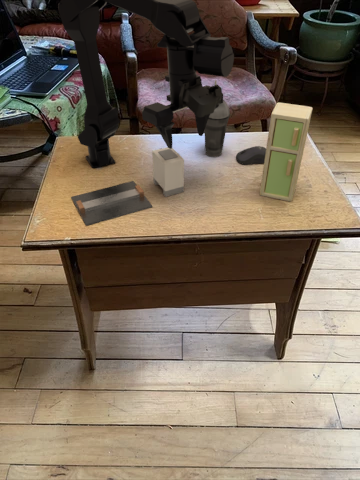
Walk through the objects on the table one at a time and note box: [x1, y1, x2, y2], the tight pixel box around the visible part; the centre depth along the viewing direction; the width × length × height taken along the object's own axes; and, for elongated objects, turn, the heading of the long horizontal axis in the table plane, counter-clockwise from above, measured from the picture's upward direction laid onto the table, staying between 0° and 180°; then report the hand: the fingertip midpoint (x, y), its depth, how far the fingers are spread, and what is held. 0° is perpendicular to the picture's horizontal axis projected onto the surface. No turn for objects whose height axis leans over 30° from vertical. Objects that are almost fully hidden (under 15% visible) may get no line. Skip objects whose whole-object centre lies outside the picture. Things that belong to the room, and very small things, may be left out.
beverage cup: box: [204, 79, 231, 158], centre depth 109 cm, size 7×7×20 cm
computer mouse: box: [235, 145, 266, 166], centre depth 112 cm, size 6×9×4 cm, turn 97°
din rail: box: [70, 180, 153, 227], centre depth 97 cm, size 12×16×2 cm
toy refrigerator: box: [259, 102, 313, 202], centre depth 94 cm, size 8×7×21 cm
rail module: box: [151, 147, 185, 198], centre depth 99 cm, size 7×5×9 cm
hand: (185, 141), depth 94 cm, fingers open, 9 cm apart
